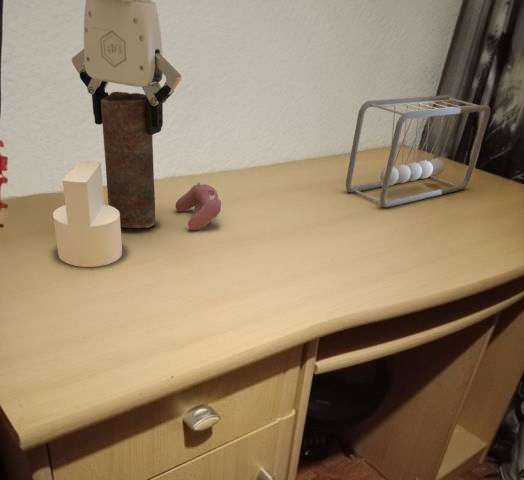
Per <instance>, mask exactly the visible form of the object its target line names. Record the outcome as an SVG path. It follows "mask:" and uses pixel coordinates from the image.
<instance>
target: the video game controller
mask: <svg viewBox="0 0 524 480" xmlns="http://www.w3.org/2000/svg"><path fill="white" fill-rule="evenodd" d="M174 207H175V210H176V211H177V212H187V211H189V210H190V209H192V208H193V210H192V211H193V215H192V216H191V217H190V218H189V220H188V223H187V227H188V229H189V230H191V231H197V230H200V229H203V228H205V227H206V226H207V225H209V224H210V222H212V221H213V219H216V217H218V215H219V214H220V213H221V211H222V201H221V199H219V194H218V191H217V190H216V189H215V187H213V186H211V185H209V184H207V183H202V184H201V182H197V184H194V185H193V186H192V187H191V188H190V189H189V190H187V192H186V193H184V194H183V195H182V196H181V197H179V198H178V199H177V200H176V202H175V206H174Z"/></svg>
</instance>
